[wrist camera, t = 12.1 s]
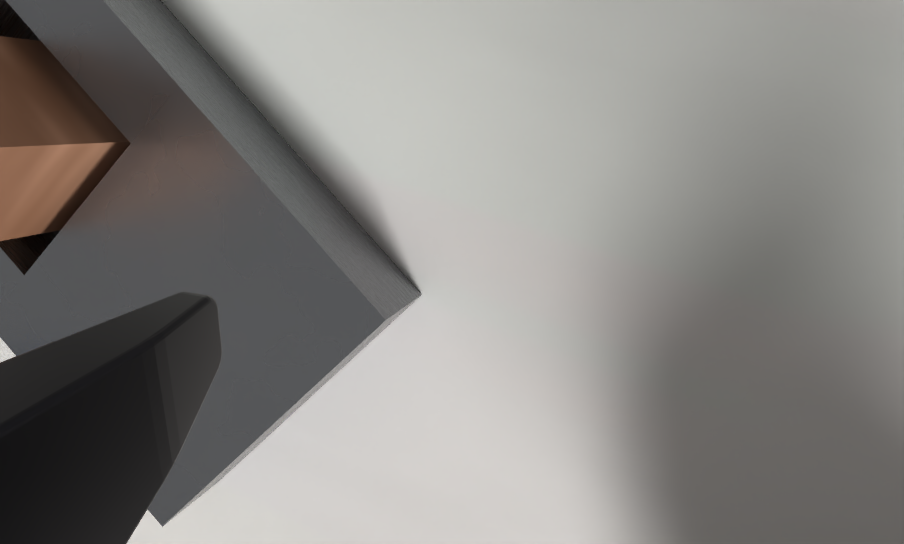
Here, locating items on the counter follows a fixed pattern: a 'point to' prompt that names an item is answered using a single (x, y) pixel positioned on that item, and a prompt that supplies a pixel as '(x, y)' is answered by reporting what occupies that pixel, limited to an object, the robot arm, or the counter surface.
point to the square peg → (47, 141)
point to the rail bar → (196, 233)
